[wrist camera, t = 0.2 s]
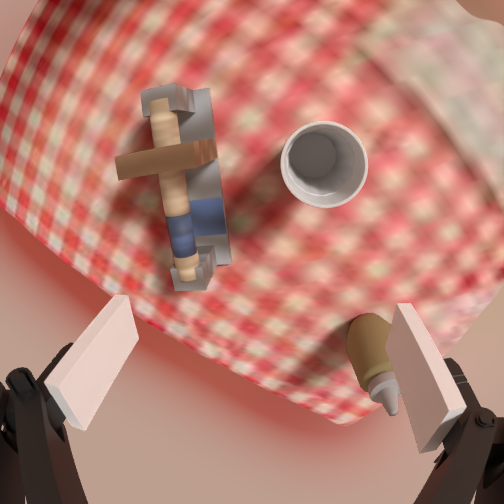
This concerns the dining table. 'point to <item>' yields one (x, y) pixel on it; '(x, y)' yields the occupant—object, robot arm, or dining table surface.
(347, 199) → the cup
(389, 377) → the squeeze bottle
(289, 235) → the dining table surface
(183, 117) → the rail
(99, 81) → the dining table surface
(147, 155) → the collar
